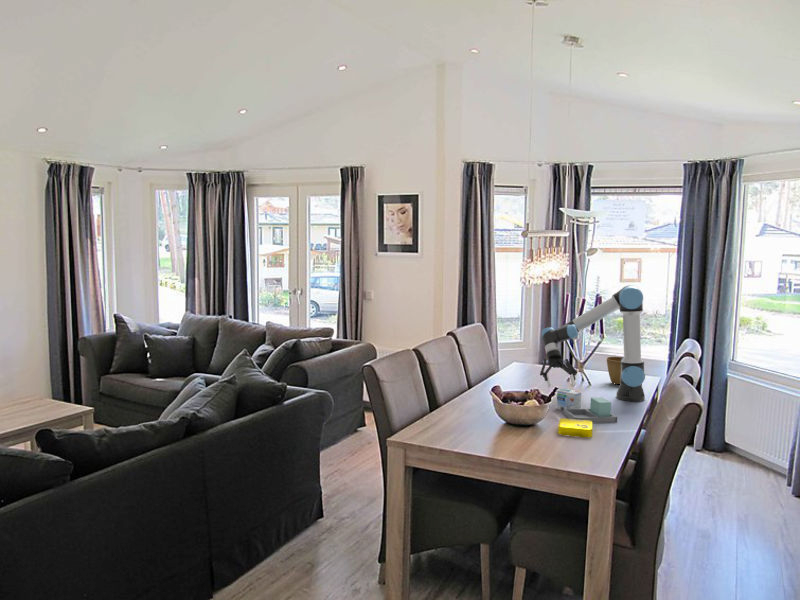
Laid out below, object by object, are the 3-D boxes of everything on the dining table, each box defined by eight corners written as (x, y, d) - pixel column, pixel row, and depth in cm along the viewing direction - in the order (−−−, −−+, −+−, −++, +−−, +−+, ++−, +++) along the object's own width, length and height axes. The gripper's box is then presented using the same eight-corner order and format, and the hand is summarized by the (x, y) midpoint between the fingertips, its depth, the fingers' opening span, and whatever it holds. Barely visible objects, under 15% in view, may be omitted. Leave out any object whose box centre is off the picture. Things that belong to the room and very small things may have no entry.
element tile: (592, 429, 287) (592, 419, 286) (592, 439, 272) (592, 428, 272) (559, 426, 291) (559, 416, 291) (557, 435, 277) (558, 425, 277)
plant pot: (601, 383, 382) (602, 358, 381) (613, 380, 392) (614, 355, 391) (623, 387, 371) (624, 361, 370) (635, 384, 381) (636, 359, 380)
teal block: (601, 414, 308) (602, 397, 307) (610, 420, 298) (611, 402, 297) (590, 414, 307) (590, 397, 306) (598, 420, 297) (599, 402, 297)
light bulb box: (556, 410, 319) (556, 390, 318) (562, 407, 324) (563, 388, 323) (574, 414, 311) (575, 393, 310) (581, 411, 316) (581, 391, 315)
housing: (602, 414, 311) (602, 408, 311) (616, 423, 295) (617, 417, 295) (563, 415, 309) (563, 409, 309) (575, 424, 293) (575, 417, 293)
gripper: (572, 356, 341) (582, 389, 328) (529, 356, 339) (537, 389, 326) (577, 348, 336) (586, 381, 322) (533, 349, 333) (540, 382, 320)
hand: (561, 385), depth 324 cm, fingers open, 13 cm apart
